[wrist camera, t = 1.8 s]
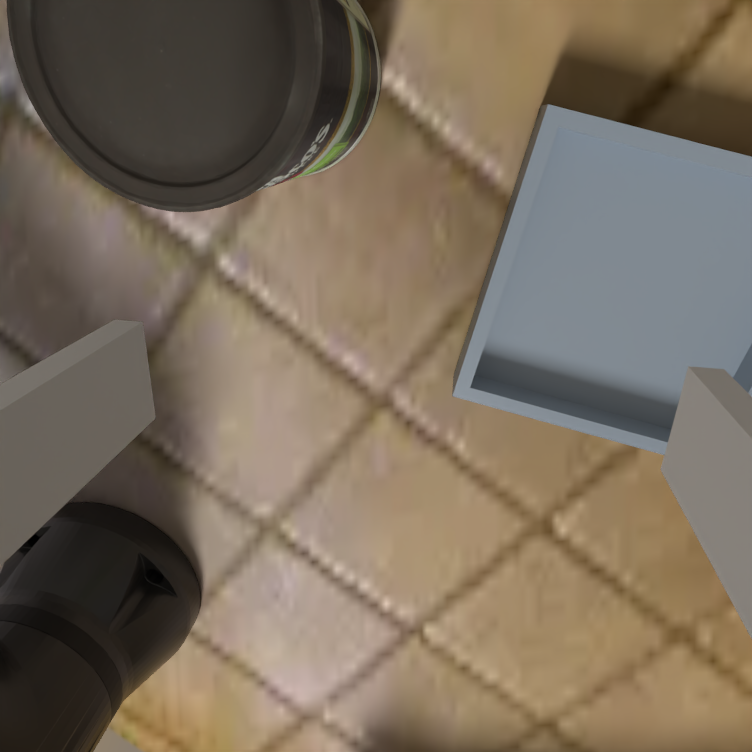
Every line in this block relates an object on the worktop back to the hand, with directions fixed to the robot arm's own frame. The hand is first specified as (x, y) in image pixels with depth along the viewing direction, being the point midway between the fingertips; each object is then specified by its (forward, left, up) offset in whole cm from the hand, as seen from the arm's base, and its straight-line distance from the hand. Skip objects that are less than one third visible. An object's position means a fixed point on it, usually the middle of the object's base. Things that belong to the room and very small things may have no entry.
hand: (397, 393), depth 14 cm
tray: (+11, 0, -21) cm, 24 cm away
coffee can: (-10, +6, -21) cm, 24 cm away
